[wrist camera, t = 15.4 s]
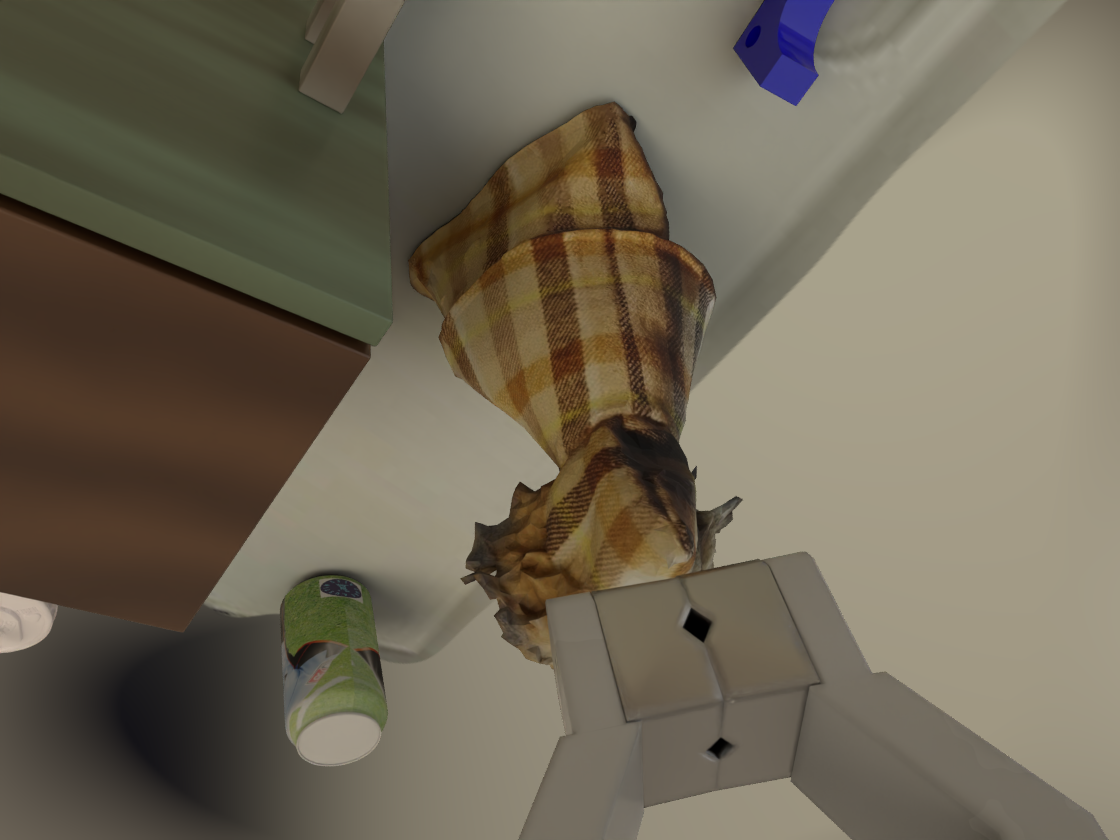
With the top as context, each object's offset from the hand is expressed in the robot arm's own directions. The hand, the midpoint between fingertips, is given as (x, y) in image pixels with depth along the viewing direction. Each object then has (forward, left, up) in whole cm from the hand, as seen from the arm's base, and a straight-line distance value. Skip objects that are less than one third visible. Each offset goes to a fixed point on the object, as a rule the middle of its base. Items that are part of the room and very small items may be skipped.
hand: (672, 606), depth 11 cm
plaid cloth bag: (-1, +18, -34) cm, 39 cm away
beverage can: (+19, +41, -34) cm, 57 cm away
